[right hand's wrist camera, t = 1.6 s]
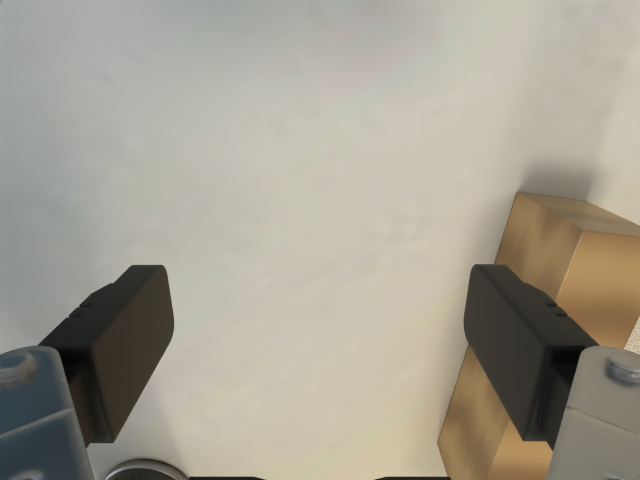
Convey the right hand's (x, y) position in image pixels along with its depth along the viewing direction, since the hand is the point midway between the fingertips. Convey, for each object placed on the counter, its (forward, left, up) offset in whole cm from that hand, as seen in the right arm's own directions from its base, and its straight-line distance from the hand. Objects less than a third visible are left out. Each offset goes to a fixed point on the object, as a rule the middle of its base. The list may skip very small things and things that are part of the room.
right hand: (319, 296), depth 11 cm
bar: (-18, -14, -22) cm, 32 cm away
